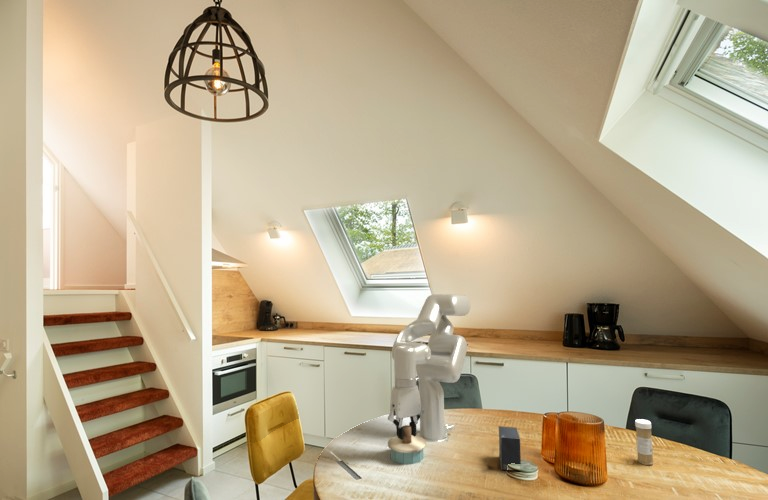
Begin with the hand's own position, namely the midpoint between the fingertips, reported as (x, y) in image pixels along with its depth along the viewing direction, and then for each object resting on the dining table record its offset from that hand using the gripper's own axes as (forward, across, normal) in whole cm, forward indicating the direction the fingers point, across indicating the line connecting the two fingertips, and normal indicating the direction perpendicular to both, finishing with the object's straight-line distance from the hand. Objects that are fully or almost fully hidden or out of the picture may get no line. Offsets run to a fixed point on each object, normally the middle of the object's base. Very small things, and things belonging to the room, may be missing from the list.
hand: (406, 436), depth 144 cm
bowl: (+8, 0, 0) cm, 8 cm away
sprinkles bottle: (+8, -65, +44) cm, 79 cm away
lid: (+3, 0, 0) cm, 3 cm away
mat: (+8, +14, -3) cm, 16 cm away
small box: (+8, -27, +21) cm, 35 cm away
